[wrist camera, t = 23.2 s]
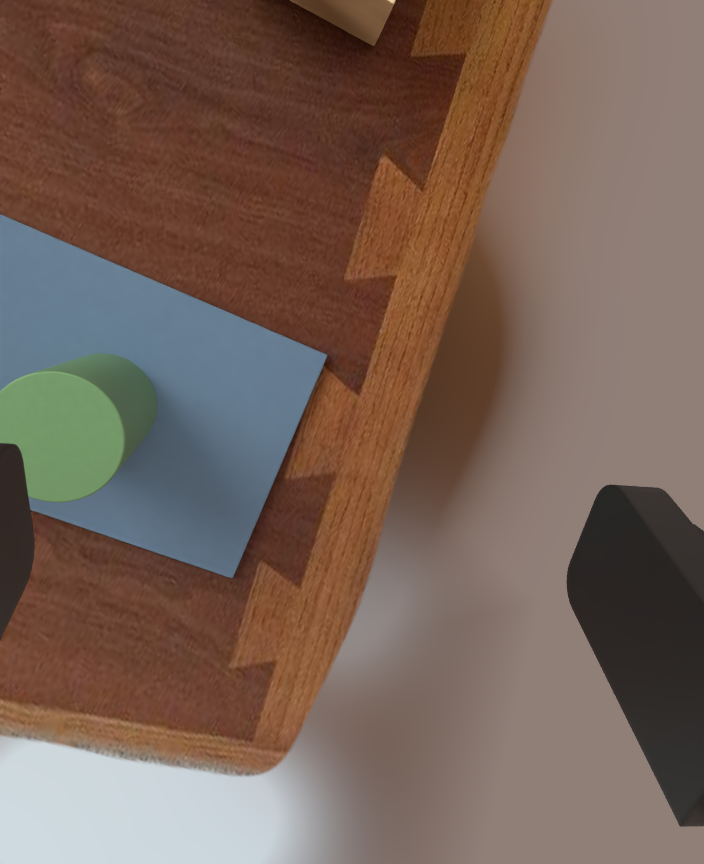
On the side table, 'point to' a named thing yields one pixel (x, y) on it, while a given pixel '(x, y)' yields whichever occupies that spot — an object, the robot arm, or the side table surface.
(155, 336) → the blue mat
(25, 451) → the green canister
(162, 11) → the side table surface
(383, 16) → the maple block
